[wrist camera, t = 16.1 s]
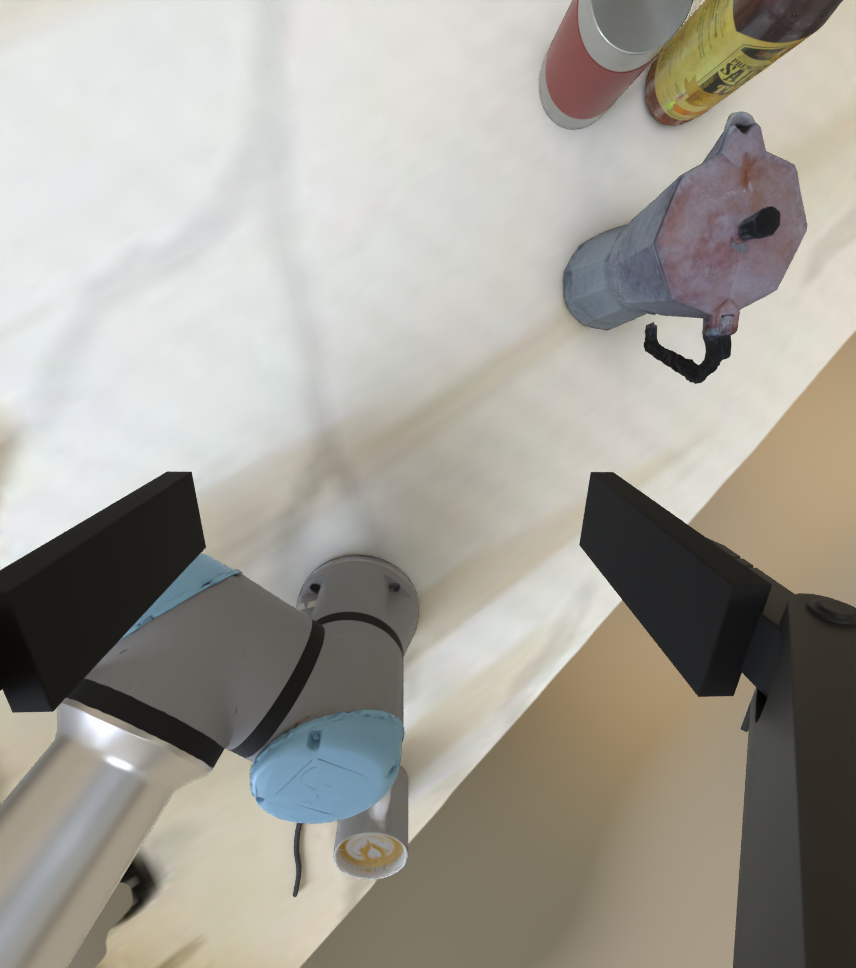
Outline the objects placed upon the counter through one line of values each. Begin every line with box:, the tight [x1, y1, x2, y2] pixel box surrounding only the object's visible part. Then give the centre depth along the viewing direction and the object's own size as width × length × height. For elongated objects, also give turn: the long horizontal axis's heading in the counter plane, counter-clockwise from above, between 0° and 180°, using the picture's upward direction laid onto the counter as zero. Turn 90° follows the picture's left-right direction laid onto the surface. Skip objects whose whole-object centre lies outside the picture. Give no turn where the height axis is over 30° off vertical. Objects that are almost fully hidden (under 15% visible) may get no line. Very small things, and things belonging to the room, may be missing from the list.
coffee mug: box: [333, 766, 408, 879], centre depth 60 cm, size 13×10×10 cm
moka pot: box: [563, 112, 807, 384], centre depth 33 cm, size 10×15×20 cm, turn 10°
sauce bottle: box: [646, 0, 843, 125], centre depth 27 cm, size 7×6×20 cm
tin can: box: [539, 0, 693, 129], centre depth 31 cm, size 7×7×11 cm
